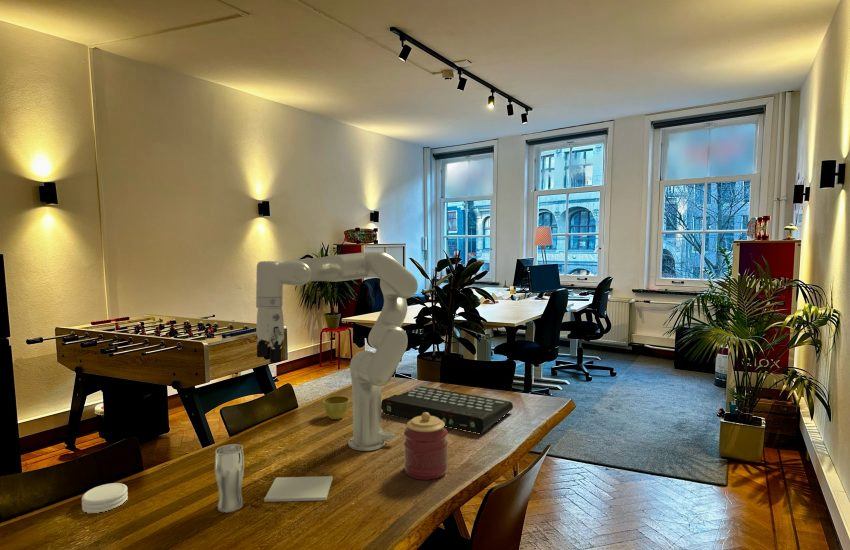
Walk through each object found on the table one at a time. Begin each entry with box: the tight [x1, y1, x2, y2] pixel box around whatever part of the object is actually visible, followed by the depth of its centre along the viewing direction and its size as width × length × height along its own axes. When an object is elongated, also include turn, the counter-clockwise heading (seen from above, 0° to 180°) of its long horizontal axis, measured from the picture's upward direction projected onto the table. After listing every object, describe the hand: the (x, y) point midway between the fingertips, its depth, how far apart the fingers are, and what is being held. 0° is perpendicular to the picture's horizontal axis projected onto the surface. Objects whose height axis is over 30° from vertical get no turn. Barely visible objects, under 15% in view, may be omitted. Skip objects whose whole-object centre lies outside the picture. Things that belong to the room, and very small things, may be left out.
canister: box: [403, 412, 449, 481], centre depth 145 cm, size 13×13×18 cm
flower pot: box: [322, 395, 350, 420], centre depth 192 cm, size 10×10×7 cm
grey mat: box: [263, 475, 333, 503], centre depth 134 cm, size 16×12×1 cm
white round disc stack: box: [81, 482, 129, 514], centre depth 127 cm, size 10×10×4 cm
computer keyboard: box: [381, 385, 514, 435], centre depth 197 cm, size 45×28×7 cm, turn 58°
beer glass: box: [214, 443, 245, 514], centre depth 125 cm, size 7×7×15 cm
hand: (268, 359), depth 146 cm, fingers open, 9 cm apart
